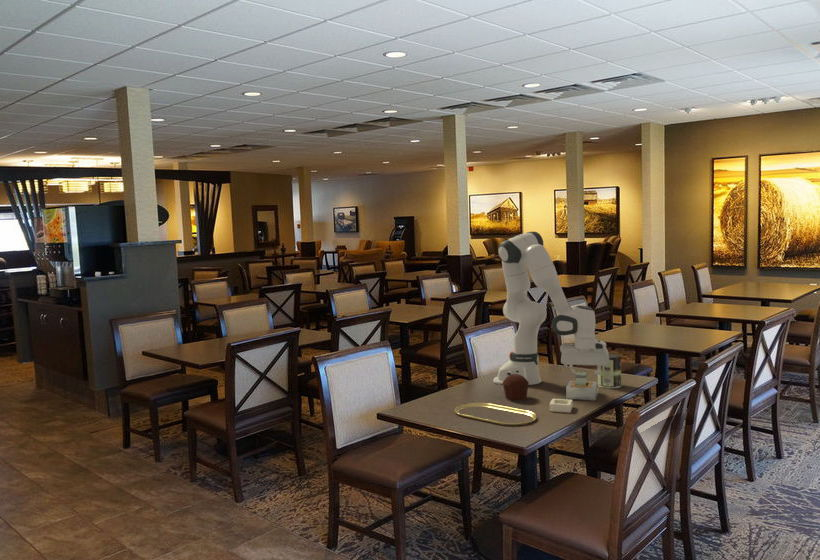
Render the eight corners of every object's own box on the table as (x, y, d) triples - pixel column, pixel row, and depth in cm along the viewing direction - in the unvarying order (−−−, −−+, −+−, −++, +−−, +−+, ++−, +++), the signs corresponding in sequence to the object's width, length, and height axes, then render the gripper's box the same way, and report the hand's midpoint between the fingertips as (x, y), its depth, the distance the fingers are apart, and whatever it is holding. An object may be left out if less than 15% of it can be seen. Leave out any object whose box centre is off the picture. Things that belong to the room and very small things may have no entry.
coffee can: (617, 382, 297) (617, 352, 296) (624, 388, 286) (624, 357, 285) (595, 383, 297) (594, 353, 296) (601, 389, 287) (600, 357, 285)
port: (566, 398, 273) (566, 386, 273) (569, 391, 284) (569, 379, 284) (595, 400, 269) (595, 387, 268) (597, 393, 280) (597, 381, 280)
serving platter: (519, 430, 235) (519, 426, 235) (445, 414, 258) (445, 410, 258) (545, 418, 249) (545, 414, 249) (473, 404, 272) (472, 400, 272)
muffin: (528, 401, 271) (528, 378, 270) (502, 401, 273) (501, 378, 272) (529, 394, 283) (528, 372, 282) (503, 394, 285) (503, 371, 284)
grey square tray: (549, 411, 256) (549, 403, 256) (552, 405, 263) (552, 398, 263) (570, 412, 253) (570, 405, 253) (572, 407, 261) (572, 399, 260)
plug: (575, 394, 276) (575, 373, 275) (577, 391, 280) (576, 371, 279) (586, 394, 274) (585, 374, 273) (587, 392, 278) (586, 371, 277)
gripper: (559, 344, 276) (559, 375, 277) (609, 345, 270) (609, 377, 271) (560, 341, 282) (560, 372, 283) (609, 342, 276) (609, 374, 277)
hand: (585, 375), depth 277 cm, fingers open, 8 cm apart
